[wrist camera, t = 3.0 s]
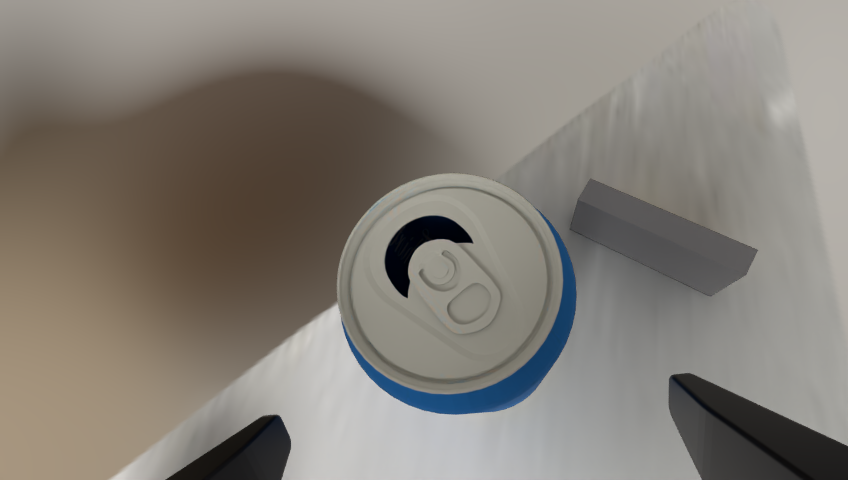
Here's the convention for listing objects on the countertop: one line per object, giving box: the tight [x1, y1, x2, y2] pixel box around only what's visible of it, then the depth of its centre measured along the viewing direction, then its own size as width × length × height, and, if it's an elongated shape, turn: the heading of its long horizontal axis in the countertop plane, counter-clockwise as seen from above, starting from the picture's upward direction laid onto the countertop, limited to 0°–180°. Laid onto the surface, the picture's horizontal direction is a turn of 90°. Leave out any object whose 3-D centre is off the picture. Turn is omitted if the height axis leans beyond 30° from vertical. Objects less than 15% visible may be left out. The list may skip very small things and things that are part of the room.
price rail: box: [570, 179, 758, 296], centre depth 20 cm, size 7×1×4 cm, turn 56°
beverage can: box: [337, 173, 576, 415], centre depth 16 cm, size 6×6×12 cm
